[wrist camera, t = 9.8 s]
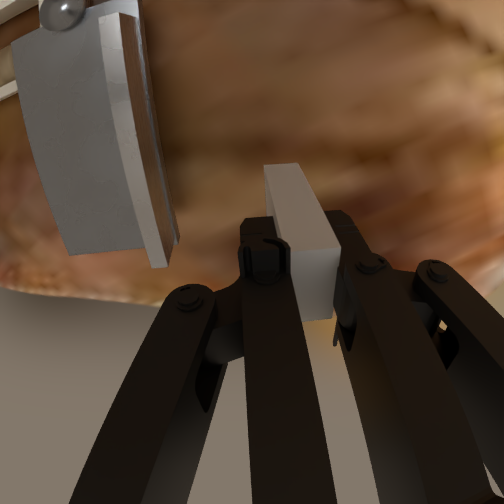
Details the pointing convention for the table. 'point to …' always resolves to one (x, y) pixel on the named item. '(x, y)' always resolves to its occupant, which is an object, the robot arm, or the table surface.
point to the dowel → (6, 66)
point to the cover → (96, 127)
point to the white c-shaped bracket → (6, 7)
